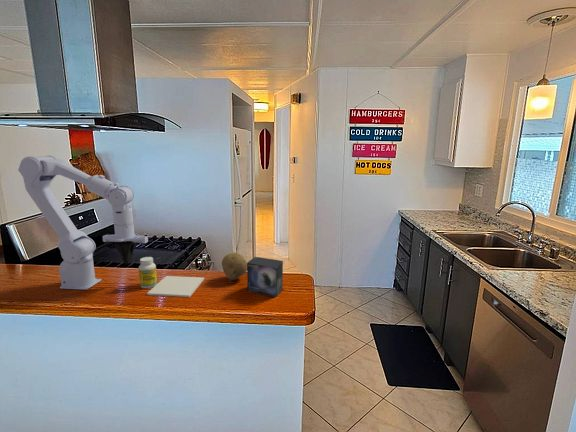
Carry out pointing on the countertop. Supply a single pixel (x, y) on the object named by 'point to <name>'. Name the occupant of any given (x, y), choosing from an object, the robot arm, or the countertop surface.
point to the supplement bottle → (147, 273)
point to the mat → (176, 286)
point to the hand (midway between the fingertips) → (127, 262)
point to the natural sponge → (234, 266)
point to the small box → (265, 276)
